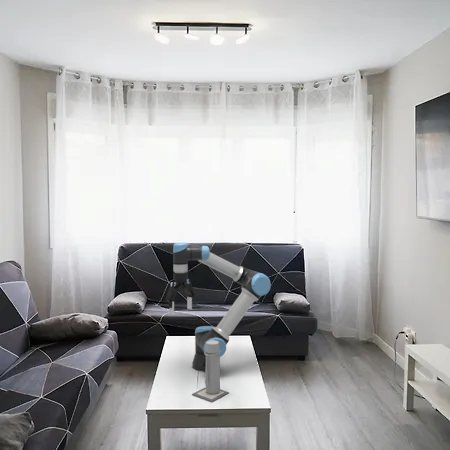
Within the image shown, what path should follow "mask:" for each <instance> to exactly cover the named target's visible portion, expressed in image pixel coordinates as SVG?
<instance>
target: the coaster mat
mask: <svg viewBox="0 0 450 450" xmlns="http://www.w3.org/2000/svg"><path fill="white" fill-rule="evenodd" d="M228 394H230V392H229V391H226V390H223V389H221V388H220V391H219V392H218V393H216V394H209V393H207V392H206V386H205V387H203V388H201V389H199V390H197V391H196V392H193V393H191V395H192V396H193V397H195V398H199V399H202V400H204V401H206V402H210V403H214V402H216V401H218V400H220V399H221V398H223V397H225V396H227V395H228Z"/></svg>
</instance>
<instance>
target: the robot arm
mask: <svg viewBox="0 0 450 450" xmlns="http://www.w3.org/2000/svg"><path fill="white" fill-rule="evenodd" d="M172 250H173V251H172V254H173V255H172V256H173V257H172V259H173V260H172V261H173V265H172V266H173V280H174V281H173V282H171V281H170V282H169V287H168V290H167V293H166V297H165V302H167V303H168V311H169V314H170V315H175V301H174V299H175V298H176V296H177V294H178V292H179V291H181V290H183V291H184V292H185V293H186V294H187V297H186V299H187V301H186V302H187V306H186V307H187V308H186V309H187V310H193V298H194V297H195V295H196V292H195V290H194V289H195V288H194V286H193V284H192V279H189V278H188V277H189V276H188V270H189V266H188V261H197V262H199V263H202V264H203V265H206V266H208V267H210V268H211V269H213V270H216V271H217V272H220V273H221V274H223V275H226V276H227V277H229V278H231V279H233V282H234V283H235V282H236V283H237V284H239V285H241V286H242V287H241V293H240V294H239V295H238V297H237V298H236V299H235V301H234V302H233V304H232V305H231V306H230V308H229V309H228V311H227V312H226V313H225V315H224V316H223V318H222V319H221V320H220V322H218V324H217V326H213V325H202V326H198V327H196V328H195V331H194V335H195V338H194V339H195V341H194V342H195V343H194V344H195V349H194V350H195V352H194V353H195V354H194V356H193V361H192V362H191V363H192V365H191V366H192V368H193V369H195V370H197V371H204V372H205V371H206V355H205V354H206V352H205V347H206V342H207V341H211V340H214V341H218V342H219V350H220V358H221V357H223V356H224V354H225V353H226V351H227V345H228V343H229V342H230V336H231V334H232V333H233V332H234V330H235V328H236V327H237V326H238V325H239V323H240V322H241V320H242V319H243V317H244V316H245V315H246V314H247V312H248V311H249V310H250V308H251V306H252V305H253V304H254V302H256V301H259V300H260V299H261V297H262V296H265V295H268V293H269V292H270V291H271V286H272V284H271V280H270V278H269V277H268V276H267V275H266V274H264V273H261V272H258V271H255V270H252V269H248V268H246V267H244V266H243V265H242V266H241V265H240V266H238V265H236V264H234V263H232V262H230V261H228V260H226V259H224V258H222V257H220V256H218V255H217V254H215V253H213V252H211V251H210V248H209V246H207V245H197V244H194V243H186V242H174V244H173V249H172ZM204 353H205V354H204Z"/></svg>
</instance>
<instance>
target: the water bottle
mask: <svg viewBox="0 0 450 450" xmlns="http://www.w3.org/2000/svg"><path fill="white" fill-rule="evenodd" d="M205 352H206V354H205V353H204V354H205V355H206V371H204V372H205V373H204V385H205V387H206V392H207V393H209V394H216V393H218V392H219V391H220V389H221V369H220V368H221V360H220V359H221V357H220V350H219V342H218V341H214V340H211V341H207V342H206V347H205Z"/></svg>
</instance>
